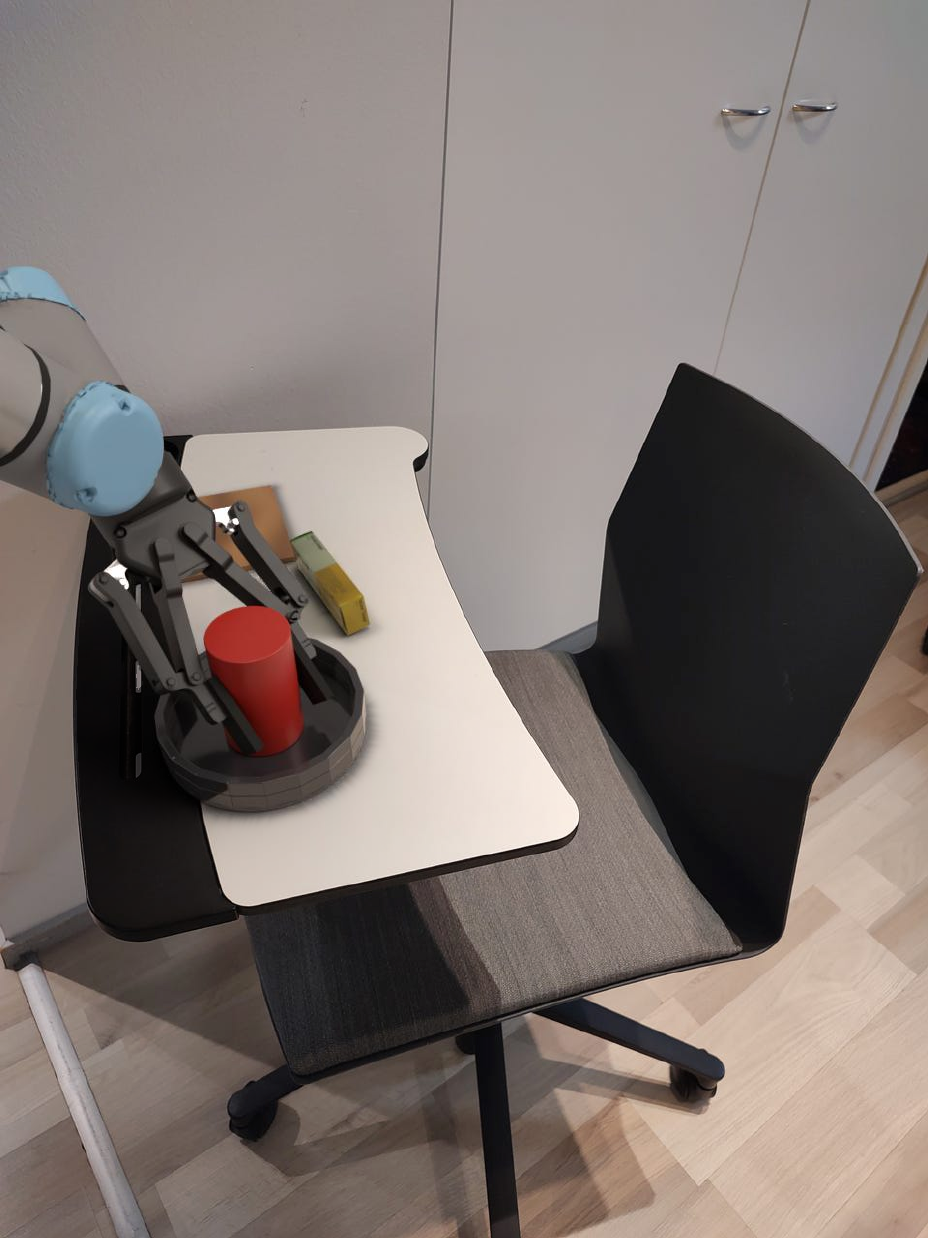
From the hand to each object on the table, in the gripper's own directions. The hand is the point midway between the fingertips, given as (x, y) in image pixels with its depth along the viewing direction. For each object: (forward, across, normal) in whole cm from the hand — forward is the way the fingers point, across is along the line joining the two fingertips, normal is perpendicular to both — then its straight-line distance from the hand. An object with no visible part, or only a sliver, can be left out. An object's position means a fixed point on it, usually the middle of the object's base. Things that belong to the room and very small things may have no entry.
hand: (289, 724), depth 69 cm
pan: (0, 0, -5) cm, 5 cm away
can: (0, 0, -5) cm, 5 cm away
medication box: (-6, -15, -11) cm, 20 cm away
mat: (-18, -15, -23) cm, 32 cm away
